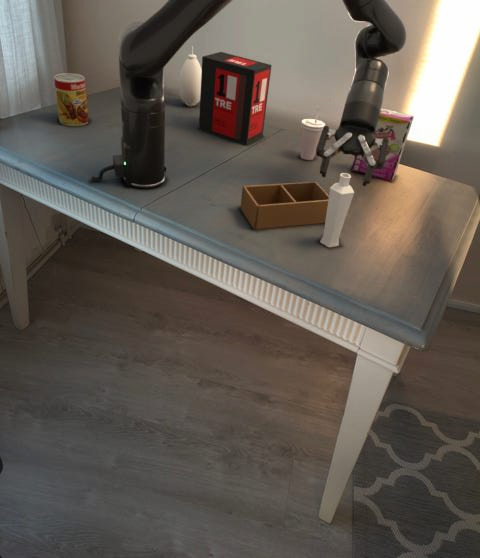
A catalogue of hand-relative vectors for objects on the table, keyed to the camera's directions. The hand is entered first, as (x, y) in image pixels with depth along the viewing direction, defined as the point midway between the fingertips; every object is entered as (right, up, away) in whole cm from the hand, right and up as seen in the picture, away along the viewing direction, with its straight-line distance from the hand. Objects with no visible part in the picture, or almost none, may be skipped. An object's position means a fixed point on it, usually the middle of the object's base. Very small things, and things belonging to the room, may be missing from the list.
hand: (343, 180), depth 104 cm
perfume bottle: (-3, -13, 0) cm, 13 cm away
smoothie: (-3, +13, +34) cm, 37 cm away
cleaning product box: (-24, +22, +43) cm, 54 cm away
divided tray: (-12, -6, +7) cm, 15 cm away
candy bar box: (+14, +7, +30) cm, 34 cm away
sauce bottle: (-38, +36, +59) cm, 79 cm away
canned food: (-69, +24, +39) cm, 82 cm away
